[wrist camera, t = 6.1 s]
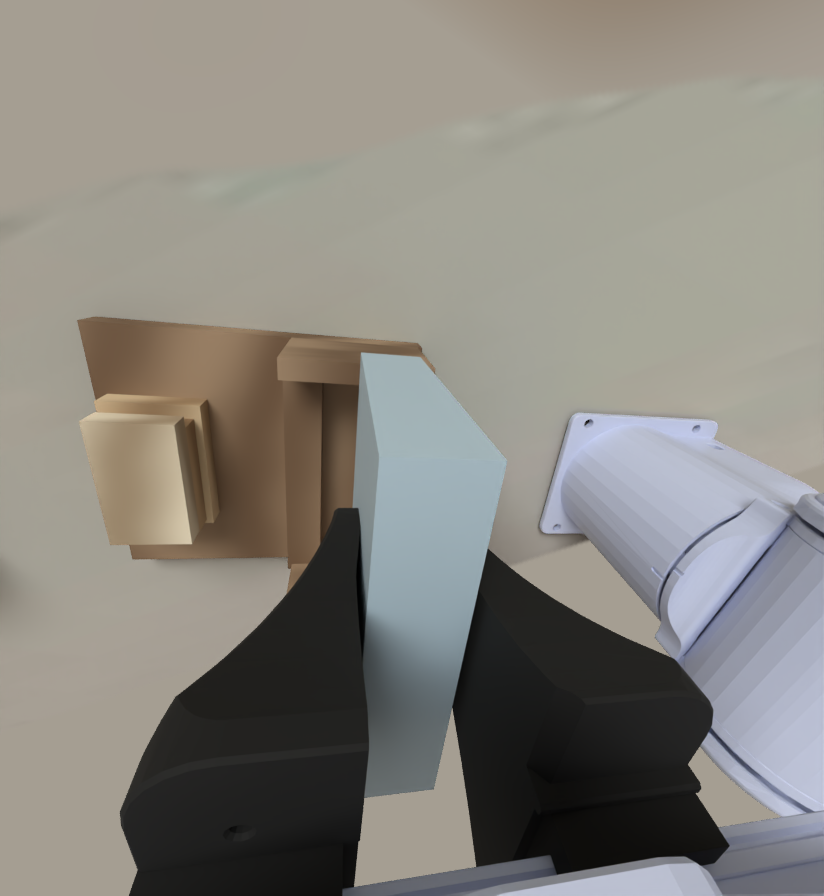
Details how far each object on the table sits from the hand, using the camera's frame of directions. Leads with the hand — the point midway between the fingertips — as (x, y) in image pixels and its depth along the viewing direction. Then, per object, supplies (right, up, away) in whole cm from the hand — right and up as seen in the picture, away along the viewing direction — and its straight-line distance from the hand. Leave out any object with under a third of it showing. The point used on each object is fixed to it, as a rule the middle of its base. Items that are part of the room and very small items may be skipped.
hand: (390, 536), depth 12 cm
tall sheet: (-1, +2, +3) cm, 4 cm away
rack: (-7, +3, +9) cm, 11 cm away
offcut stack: (-11, +2, +7) cm, 13 cm away
